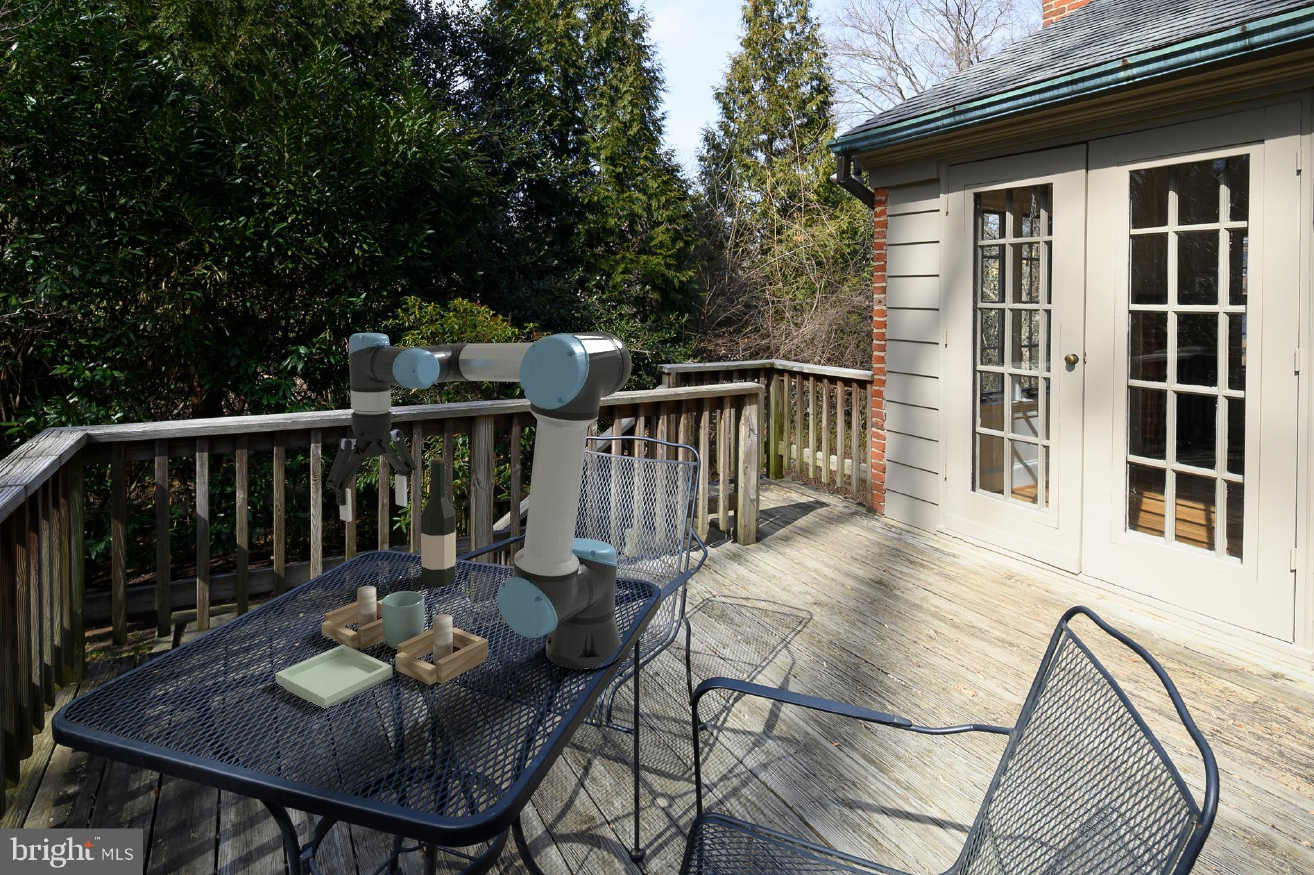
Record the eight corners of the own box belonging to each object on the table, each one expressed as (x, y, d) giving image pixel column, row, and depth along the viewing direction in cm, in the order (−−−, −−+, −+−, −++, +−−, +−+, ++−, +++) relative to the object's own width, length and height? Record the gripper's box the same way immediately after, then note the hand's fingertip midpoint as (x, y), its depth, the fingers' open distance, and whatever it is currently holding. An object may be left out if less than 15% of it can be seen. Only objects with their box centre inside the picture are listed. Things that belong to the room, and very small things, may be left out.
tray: (392, 677, 146) (392, 666, 146) (325, 710, 135) (324, 698, 134) (343, 654, 153) (343, 644, 153) (275, 684, 142) (275, 673, 141)
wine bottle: (447, 588, 187) (446, 464, 180) (414, 584, 188) (412, 461, 182) (462, 575, 195) (462, 456, 188) (431, 571, 196) (429, 453, 190)
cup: (374, 649, 156) (373, 601, 154) (401, 633, 163) (400, 588, 161) (406, 658, 153) (405, 610, 151) (432, 641, 160) (432, 595, 158)
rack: (493, 656, 156) (493, 613, 154) (435, 687, 143) (434, 641, 141) (378, 610, 173) (377, 571, 171) (317, 635, 161) (315, 593, 159)
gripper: (408, 401, 172) (410, 496, 176) (303, 416, 151) (308, 522, 156) (432, 405, 168) (434, 502, 172) (327, 421, 147) (332, 530, 152)
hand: (374, 512), depth 164 cm, fingers open, 13 cm apart
